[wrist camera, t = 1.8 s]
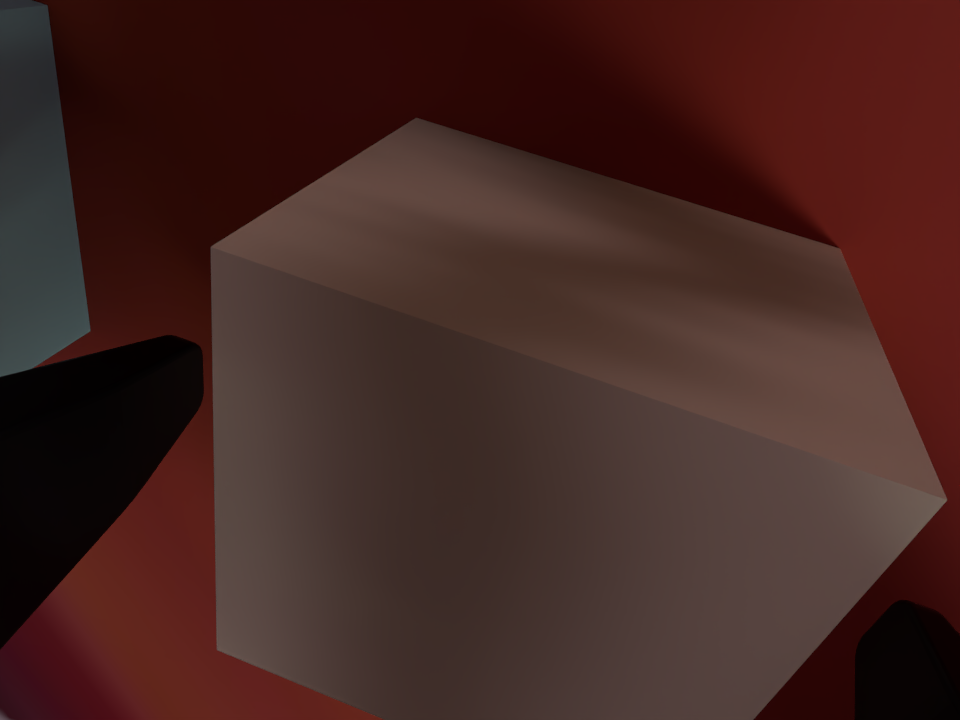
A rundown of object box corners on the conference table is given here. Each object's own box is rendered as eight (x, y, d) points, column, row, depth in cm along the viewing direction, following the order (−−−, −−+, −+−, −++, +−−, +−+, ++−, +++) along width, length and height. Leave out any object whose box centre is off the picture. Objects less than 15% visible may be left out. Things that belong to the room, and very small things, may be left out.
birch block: (838, 245, 9) (946, 499, 5) (671, 537, 12) (654, 831, 8) (419, 116, 10) (209, 247, 6) (369, 426, 13) (216, 649, 9)
